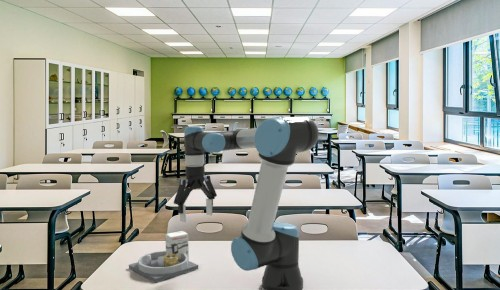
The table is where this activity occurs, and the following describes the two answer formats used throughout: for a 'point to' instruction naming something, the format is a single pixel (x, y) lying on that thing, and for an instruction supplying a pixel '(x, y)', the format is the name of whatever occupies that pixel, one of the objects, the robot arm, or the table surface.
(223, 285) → the table surface
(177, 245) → the ink box
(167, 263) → the tan hollow cylinder
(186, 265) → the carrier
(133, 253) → the table surface
